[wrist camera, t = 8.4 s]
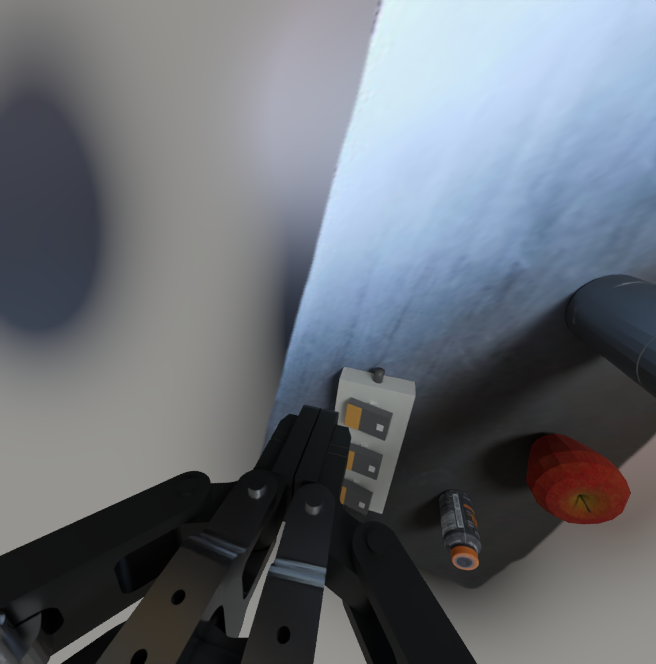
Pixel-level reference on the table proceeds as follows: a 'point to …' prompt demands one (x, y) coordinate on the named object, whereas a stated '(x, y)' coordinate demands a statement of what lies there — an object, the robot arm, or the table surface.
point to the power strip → (399, 402)
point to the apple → (575, 481)
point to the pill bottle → (460, 529)
